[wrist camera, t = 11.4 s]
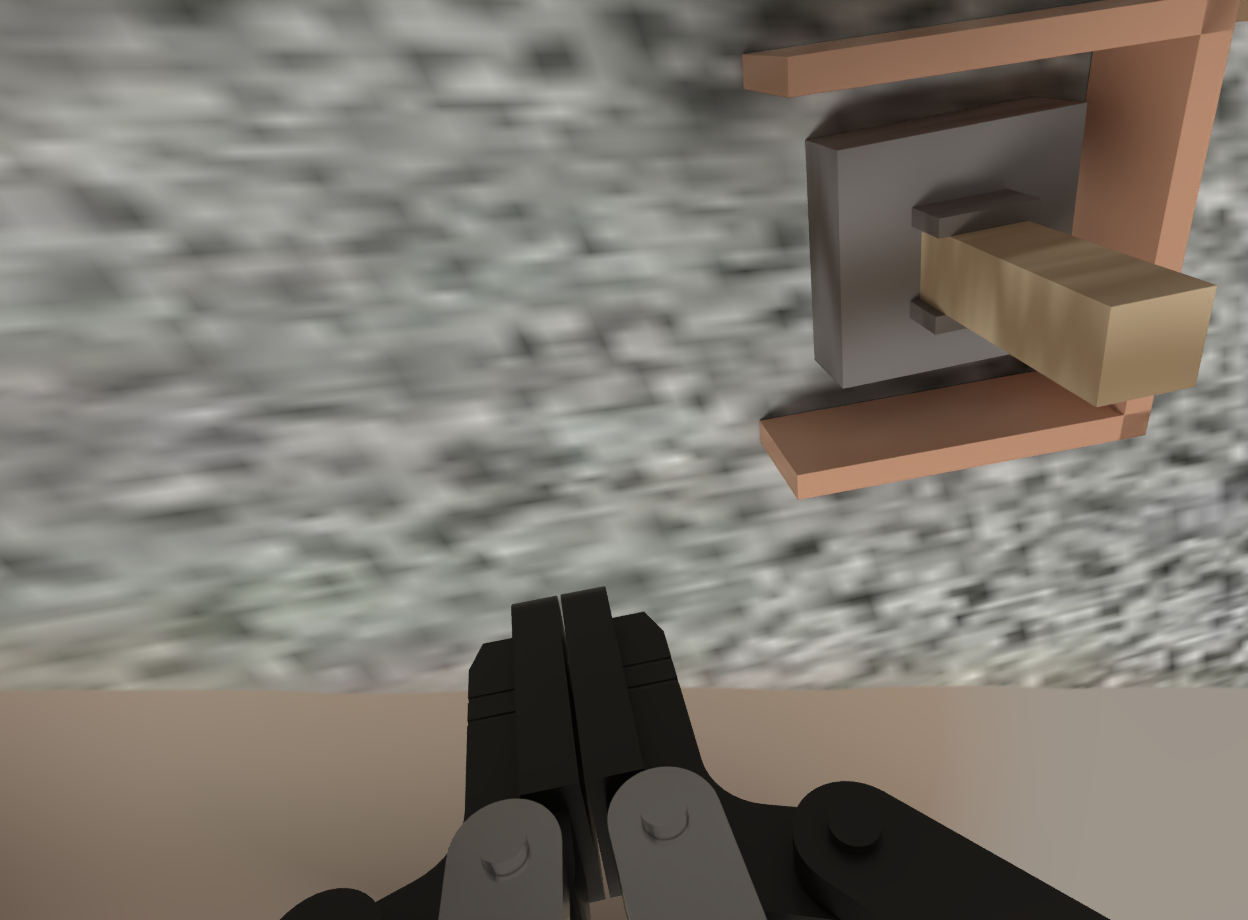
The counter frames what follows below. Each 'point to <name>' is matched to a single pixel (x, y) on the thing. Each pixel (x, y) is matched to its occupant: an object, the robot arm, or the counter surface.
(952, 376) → the counter surface
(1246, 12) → the lid
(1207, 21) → the three-sided wooden frame
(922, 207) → the mounted wooden block
